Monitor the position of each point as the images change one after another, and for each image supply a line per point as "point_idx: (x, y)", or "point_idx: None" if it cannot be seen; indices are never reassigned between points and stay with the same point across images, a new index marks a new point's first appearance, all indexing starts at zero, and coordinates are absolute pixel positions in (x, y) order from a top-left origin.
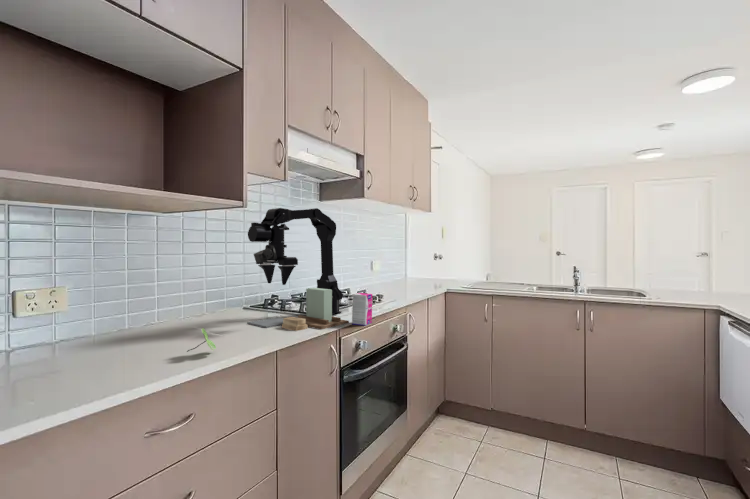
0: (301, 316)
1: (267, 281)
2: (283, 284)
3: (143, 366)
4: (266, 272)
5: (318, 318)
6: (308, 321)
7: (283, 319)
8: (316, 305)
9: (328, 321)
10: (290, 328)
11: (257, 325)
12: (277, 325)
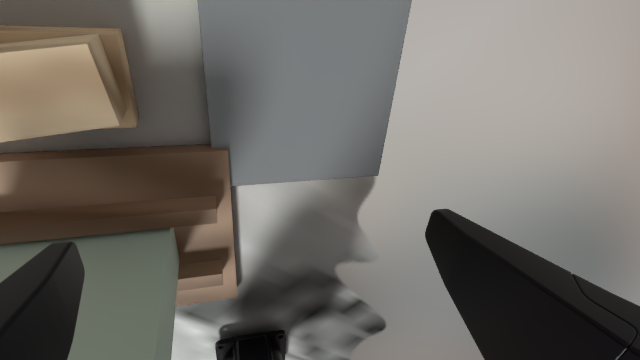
0: (182, 210)
1: (464, 218)
2: (52, 250)
3: None
4: (572, 314)
5: (29, 238)
6: (112, 202)
7: (86, 41)
8: None
9: None
10: (8, 27)
11: None
12: (202, 48)
